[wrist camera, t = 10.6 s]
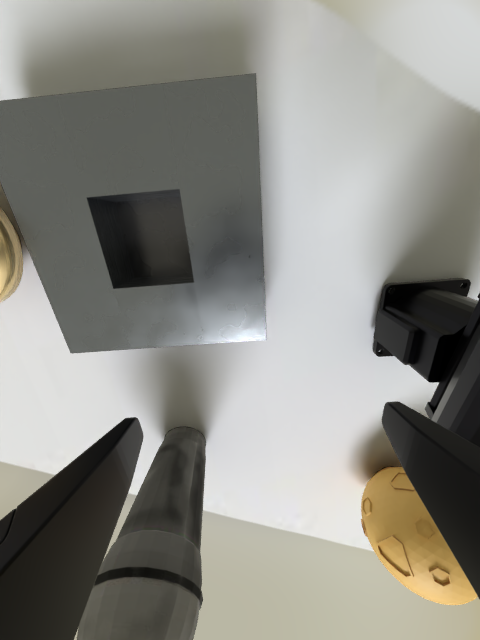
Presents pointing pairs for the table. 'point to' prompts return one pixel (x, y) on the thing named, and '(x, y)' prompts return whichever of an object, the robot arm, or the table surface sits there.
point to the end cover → (9, 258)
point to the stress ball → (411, 540)
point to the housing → (142, 210)
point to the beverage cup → (155, 553)
